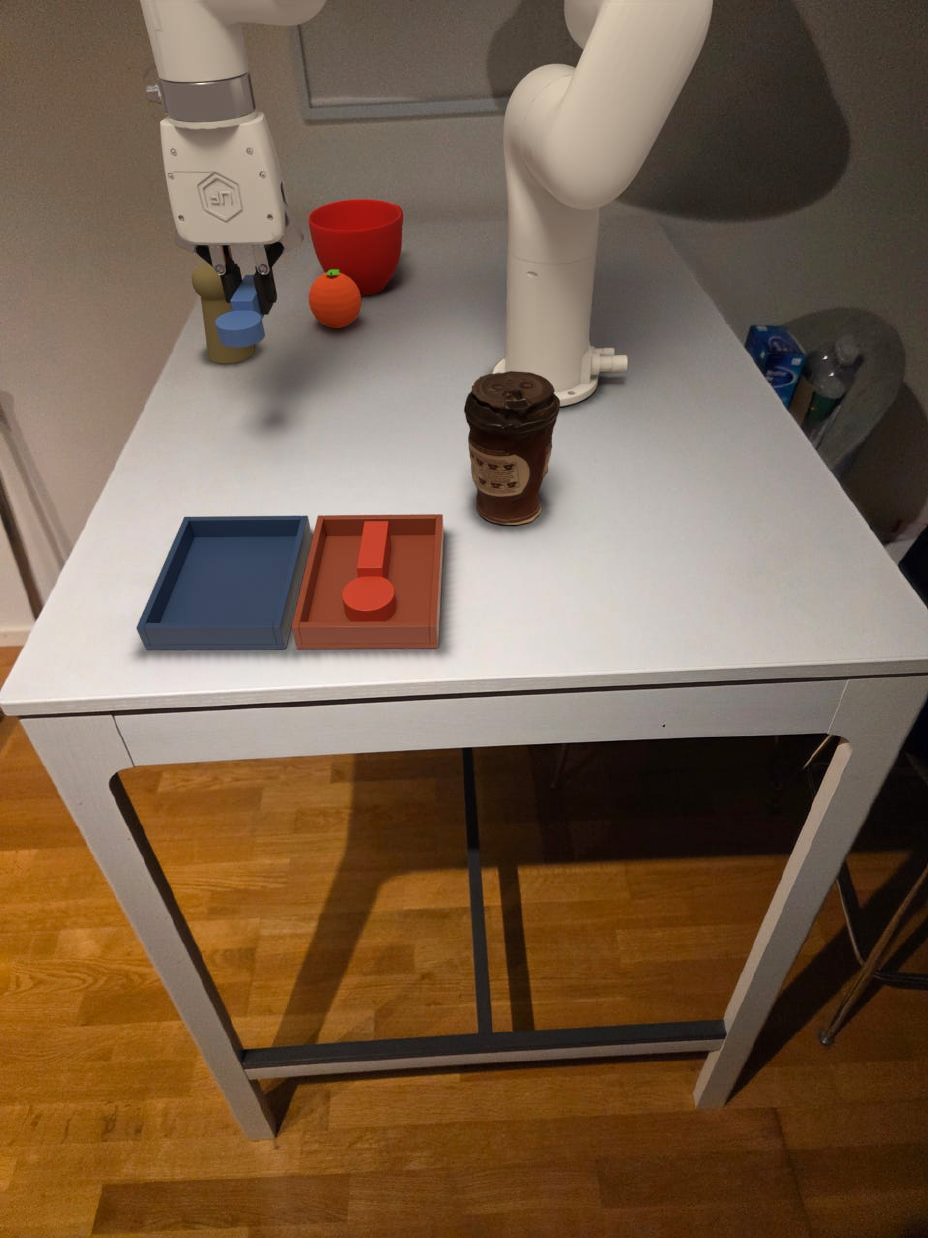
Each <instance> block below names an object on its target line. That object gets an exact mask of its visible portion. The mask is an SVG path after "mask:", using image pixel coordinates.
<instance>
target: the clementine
mask: <svg viewBox="0 0 928 1238" xmlns="http://www.w3.org/2000/svg"><path fill="white" fill-rule="evenodd" d="M308 305H309V309H310V311H311V313H312V314H313V316H314V318H315V319H316V320H317V321H318V322H319V323H320V324H322V325H324V326H326V327H329V328H331V329H341V328H346V327H347V326H349V325H351V323H353V322H354V321H355V320H356V319H357V318H358V315H359V314H360V311H361V308H362V296H361V295H360V291H359V289H358V287H357V285H356V284H355V282H354V281H353V280H352V279H351V278H350V277H348V276H346V275H344V274H342V273H340V272H339V269H332V270H329V271H328V272H327V273H325V272H323V273H322V274H321V275H319V276H318V277H317V278H315V280H314V281H313V283H312V284H311V286H310V288H309V293H308Z"/></svg>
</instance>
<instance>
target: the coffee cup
mask: <svg viewBox="0 0 928 1238" xmlns="http://www.w3.org/2000/svg"><path fill="white" fill-rule="evenodd" d="M554 392H555V389H554V387H553V385H552V384H551V383H550V382H549V381H548V380H547V379H546V378H544V377H542V376H540V375H537V374H534V373H530V372H516V371H509V372H505V373H495V374H492V373H487V374H484V375H481V376H479V377H478V378H477V379H475V381H474V383H473V385H472V386H471V390H470V392H469V393H468V394H467V396H466V399H465V403H464V408H463V413H464V415H465V420H466V423H467V425H468V428H469V431H468V436H467V443H468V453H469V455H468V456H469V459H470V473H471V478H472V482H473V485H474V487H475V488H476V504H475V507H476V510H477V513H478V514H479V515H480V516H481V517H482V518H484V519H486V520H487V521H489V522H492V523H495V524H499V525H506V526H510V525H516V526H517V525H519V526H520V525H522V524H526V523H531V522H533V521H534V520H535V519H536V518H537V517H538V516H539V515H540V513H541V511H542V501H541V500H540V498H539V494H540V493H539V492H540V489H541V487H542V483H543V481H544V477H545V476H546V475H547V474H548V472H549V470H550V469H549V463H550V459H551V456H552V449H553V434H554V428H555V425H556V423H557V419H558V415H559V412H560V407H561V406H560V400H559V398H558V397H557V396H556V395H555V394H554Z"/></svg>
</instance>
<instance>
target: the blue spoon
mask: <svg viewBox="0 0 928 1238" xmlns="http://www.w3.org/2000/svg"><path fill="white" fill-rule="evenodd" d="M253 276H254V274H245V275H244V277H242V282H241V284H240V285H239V287H238V289H237V290H236V292H235V294H234V295H233V297H232V299H231V300H230V302H231V306H232V312H228V313H225V314H223V315H221V316H219V317H218V318H217V319H216V322H215V324H216V328H217V332H218V336H219V340H220V342H221V343H222V344H223V345H225V346H228V347H247V346H251V345H254V346H255V345H256V344H258V343H260V342H262V341H263V340H264V338H265V337H266V333H265V329H264V327H265V326H264V323H263V318H264V316H265V315H263V314H262V313H261V310H260V305H259V300H258V295H257V292H256V289H255V284H254V279H253Z"/></svg>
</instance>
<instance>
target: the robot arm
mask: <svg viewBox="0 0 928 1238" xmlns="http://www.w3.org/2000/svg"><path fill="white" fill-rule="evenodd" d="M139 3H140V7H141V10H142V16H143V19H144V23H145V27H146V31H147V35H148V39H149V43H150V46H151V50H152V51H151V52H152V56H153V59H154V63H155V68H156V71H157V75H158V77H157V78H156V82H154V83H148V84H146V86H145V93H146V97H147V99H148V102H150V103H151V104H152V103H153V104H154V103H157V104H159V105H162V108H163V110H164V114H165V115H167V116H166V117H164V119H162V120H160V122H159V130H160V143H161V153H162V161H163V167H164V175H165V180H166V181H165V182H166V186H167V191H168V198H169V202H170V208H171V213H172V217H173V221H174V224H175V225H174V226H175V231H174V236H173V242H174V244H175V245H176V246H177V247H178V248H181V249H183V250H186V251H188V252H191V253H192V254H194V253H195V254H197V256H198V257H200V258H201V259H202V260H203V261H204V262H205V263H208V264H210V265H211V266H212V267H213V269H214V271H215V273H216V274H218V275H220V278H221V282H222V287H223V291H224V295H225V299H226V302H227V303H231V302H230V300H231V299H232V297H233V295H234V294H235V292H236V290H237V289H238V287H239V285H240V284H241V282H242V280H243V276H242V272H241V271H242V270H241V268H240V265H238V263H236V262H235V260H233V254H232V250H231V249H232V248H231V246H251V250H252V253H253V254H252V255H253V258H254V263H255V266H254V268H255V269H254V270H255V272H254V274H253V275H254V276H253V279H254V284H255V289H256V292H257V295H258V300H259V305H260V310H261V313H262V314H263V315H264V316H268V315H269V314H270V312H271V310H272V308H273V306H274V304H275V303H277V300H278V292H277V287H276V281H275V277H274V271H273V267H274V266H275V264H276V263H277V262H278V260H279V259H280V258H281V257H282V255H283V254H285V253H288V252H290V251H292V250H294V249H296V248H298V247H300V246H301V245H302V243H303V241H304V240H305V235H304V233H303V231H302V229H301V227H300V226H299V224H298V222H297V221H296V219H295V217H294V215H293V214H292V212H291V208H290V203H289V197H288V193H287V192H288V191H287V188H286V183H285V179H284V175H283V171H282V167H281V162H280V159H279V156H278V152H277V148H276V145H275V142H274V139H273V135H272V133H271V130H270V127H269V124H268V121H267V118H266V115H265V113H264V112H263V111H257V105H256V100H255V99H256V98H255V94H254V89H253V83H252V78H251V72H250V68H249V67H250V66H249V61H248V60H249V59H248V55H247V49H246V44H245V38H244V33H243V27H242V23H247V24H248V23H249V24H251V23H252V24H260V25H269V26H279V27H292V26H298V25H303V24H304V23H307V22H308V21H310V20H311V19H313V18H314V17H316V16H317V14H319V12H321V10H322V9H323V8H324V6H325V4H326V3H327V0H139ZM713 4H714V0H564V1H563V14H564V22H565V24H566V28H567V30H568V33H569V34H570V36H571V38H572V39H573V41H574V42H575V43H576V44H577V45H578V46H579V47H580V48H581V49H582V50H583V51H582V53H581V55H580V57H579V60H578V63H577V64H576V67H575V66H572V65H570V64H569V65H568V64H564V63H549V64H544V65H541V66H539V67H537V68H535V69H533V70H531V71H530V72H529V73H527V74H526V75H525V76H524V77H523V78H522V79H521V80H520V81H519V82H518V84H517V85H516V87H515V88H514V89H513V92H512V93H511V95H510V97H509V100H508V103H507V105H506V108H505V113H504V119H503V124H502V147H503V149H502V150H503V162H504V172H505V183H506V198H507V201H506V203H507V247H506V297H505V298H506V301H505V302H506V306H505V311H506V312H505V357H504V358H502V359H501V360H500V361H499V362H498V363H496V365H495V366H494V368H493V369H492V373H491V374H495V373H505V372H509V371H516V372H530V373H534V374H537V375H540V376H542V377H544V378H546V379H547V380H548V381H549V382H550V383H551V384H552V385H553V387H554V389H555V392H554V394H555V395H556V396H557V397H558V398H559V400H560V407H565V406H570V405H573V404H574V405H575V404H577V403H579V402H582V401H583V400H585V399H587V398H589V397H590V396H592V394H593V393H595V391H596V389H597V388H598V382H599V375H600V373H606V372H607V373H627V370H628V362H629V361H628V355H627V354H615V348H614V347H603V348H595V346H594V345H591V342H590V337H589V336H590V327H591V317H592V316H591V315H592V305H593V294H594V283H595V271H596V262H597V250H598V246H599V245H598V244H599V231H600V208H602V207H605V206H607V205H608V204H610V203H612V202H613V201H614V200H616V199H617V198H618V197H619V196H620V195H621V194H622V193H623V192H624V191H625V190H627V188H628V187H629V186H630V184H632V182H633V181H634V179H635V177H636V176H637V175H638V173H639V171H640V170H641V168H642V166H643V165H644V163H645V161H646V159H647V157H648V156H649V154H650V153H651V150H652V148H653V146H654V144H655V142H656V140H657V138H658V137H659V135H660V132H661V131H662V129H663V127H664V125H665V123H666V121H667V119H668V117H669V115H670V114H671V111H672V109H673V107H674V105H675V104H676V102H677V100H678V97H679V96H680V94H681V92H682V90H683V88H684V86H685V84H686V82H687V81H688V78H689V76H690V74H691V72H692V70H693V68H694V66H695V64H696V62H697V60H698V58H699V55H700V53H701V51H702V49H703V46H704V44H705V41H706V38H707V34H708V32H709V27H710V23H711V20H712V19H711V18H712V13H713ZM231 308H232V306H231Z"/></svg>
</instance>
